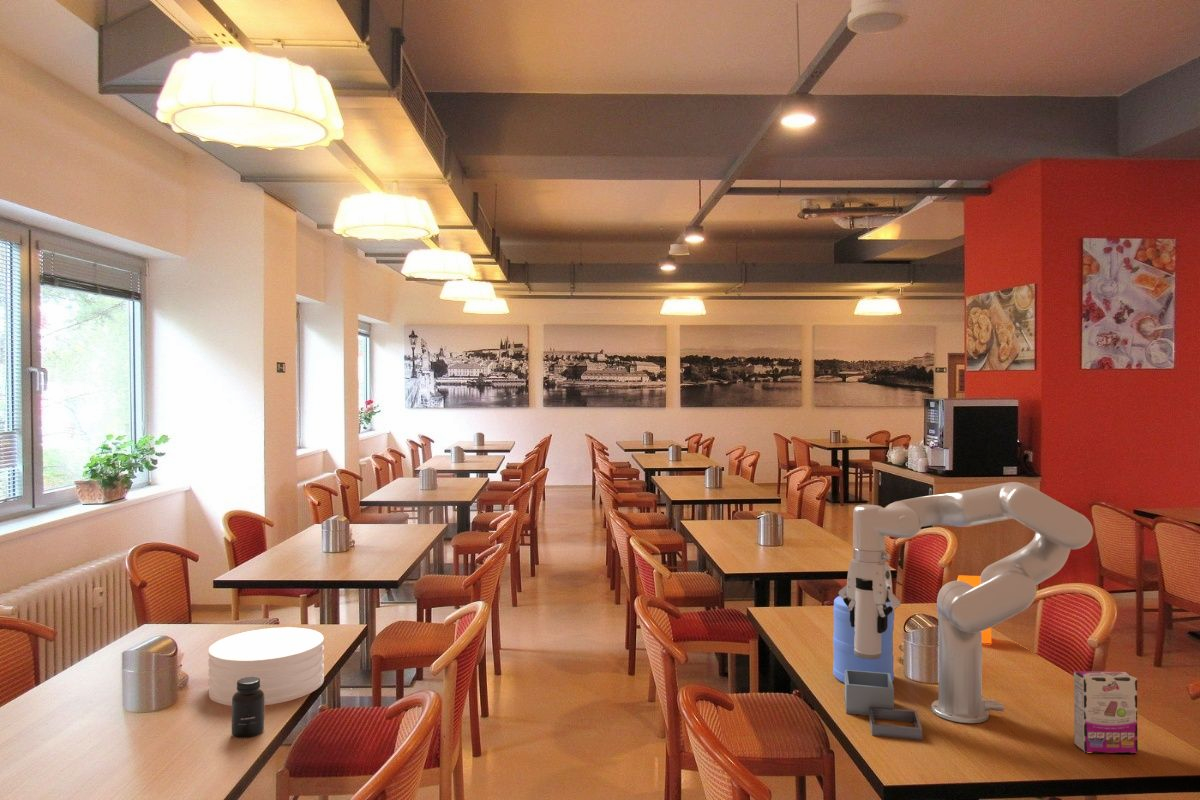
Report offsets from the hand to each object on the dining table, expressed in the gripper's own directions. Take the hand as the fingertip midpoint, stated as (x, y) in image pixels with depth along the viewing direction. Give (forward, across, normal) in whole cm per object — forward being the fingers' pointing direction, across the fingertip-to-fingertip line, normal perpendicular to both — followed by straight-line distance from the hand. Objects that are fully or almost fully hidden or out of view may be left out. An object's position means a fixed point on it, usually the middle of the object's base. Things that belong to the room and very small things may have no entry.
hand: (868, 628), depth 199 cm
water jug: (+20, +10, -18) cm, 28 cm away
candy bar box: (+20, -47, -14) cm, 53 cm away
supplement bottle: (+20, +93, +113) cm, 148 cm away
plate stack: (+20, +119, +97) cm, 155 cm away
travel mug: (+7, 0, 0) cm, 7 cm away
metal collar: (+19, -10, +7) cm, 23 cm away
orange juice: (+20, +2, -73) cm, 76 cm away
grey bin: (+19, 0, 0) cm, 19 cm away
